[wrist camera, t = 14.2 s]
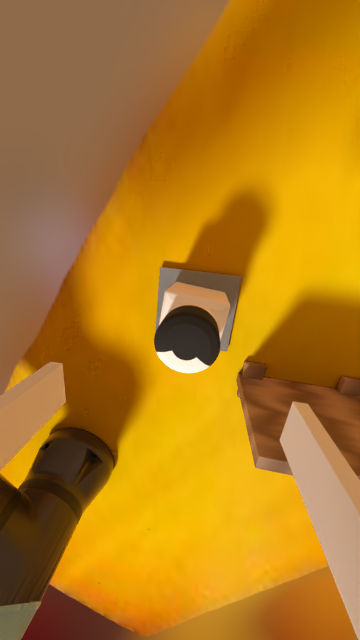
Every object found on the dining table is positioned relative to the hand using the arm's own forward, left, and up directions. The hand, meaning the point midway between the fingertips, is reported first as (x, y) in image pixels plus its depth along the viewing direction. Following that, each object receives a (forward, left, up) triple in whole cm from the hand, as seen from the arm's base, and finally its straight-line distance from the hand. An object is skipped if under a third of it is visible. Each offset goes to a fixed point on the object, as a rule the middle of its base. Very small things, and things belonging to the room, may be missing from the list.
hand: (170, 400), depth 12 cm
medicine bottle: (0, 0, -19) cm, 19 cm away
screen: (+17, -10, -19) cm, 28 cm away
